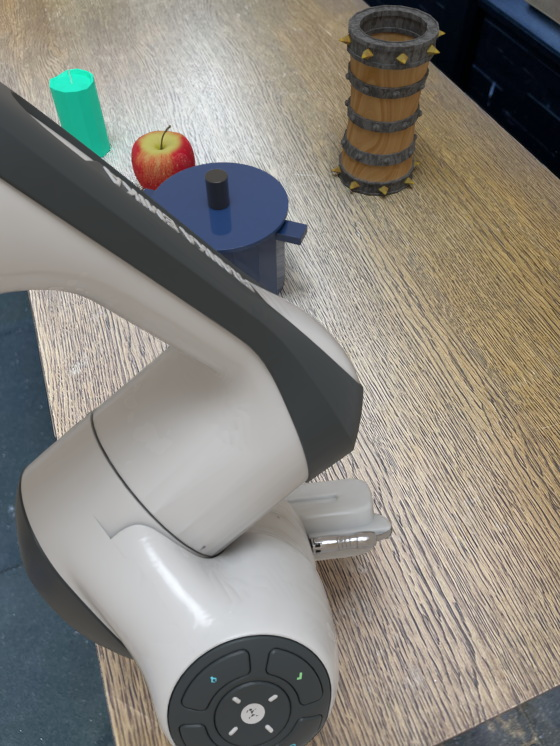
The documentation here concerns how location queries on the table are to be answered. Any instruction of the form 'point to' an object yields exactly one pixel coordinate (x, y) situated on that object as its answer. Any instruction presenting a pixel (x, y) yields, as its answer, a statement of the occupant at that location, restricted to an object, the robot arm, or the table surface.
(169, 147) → the apple
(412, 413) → the table surface
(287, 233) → the pot
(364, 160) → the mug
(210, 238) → the pot lid
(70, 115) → the candle
